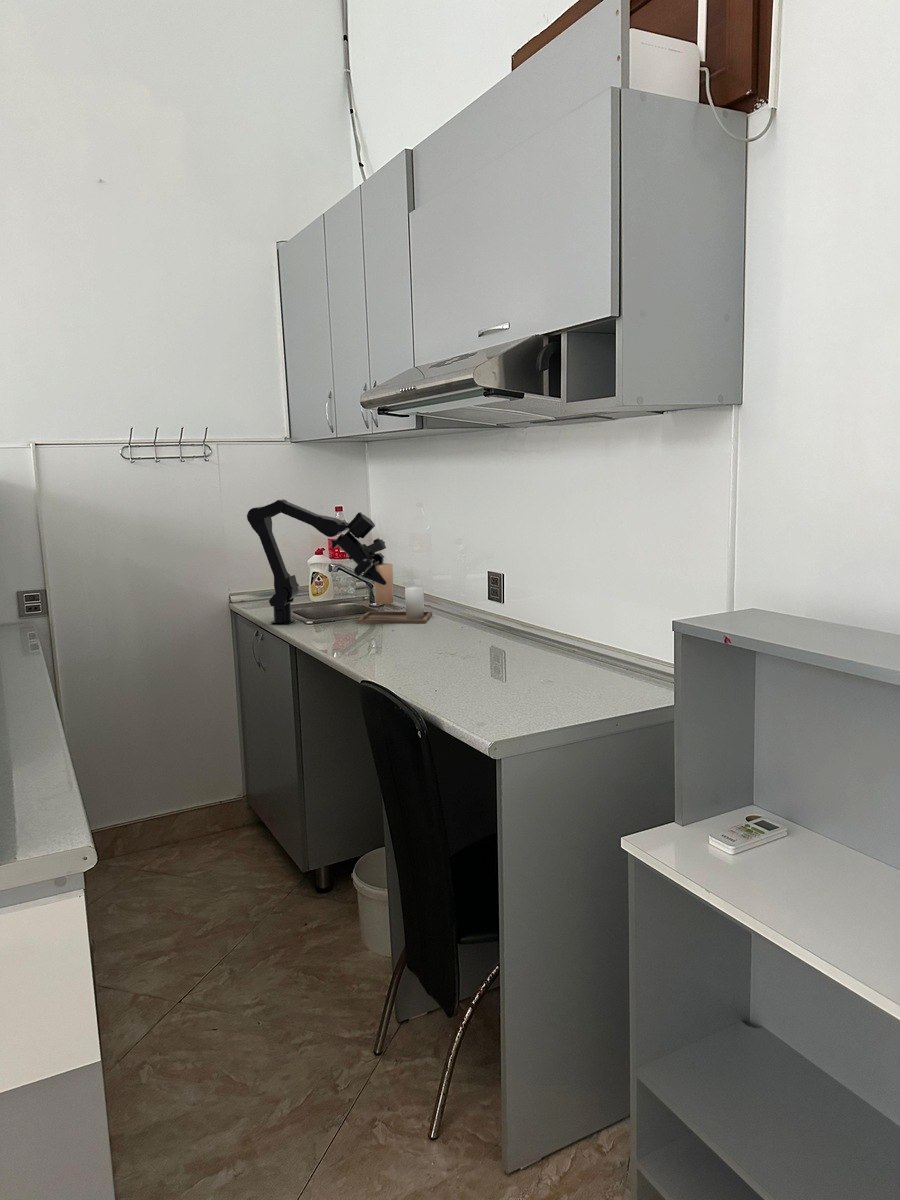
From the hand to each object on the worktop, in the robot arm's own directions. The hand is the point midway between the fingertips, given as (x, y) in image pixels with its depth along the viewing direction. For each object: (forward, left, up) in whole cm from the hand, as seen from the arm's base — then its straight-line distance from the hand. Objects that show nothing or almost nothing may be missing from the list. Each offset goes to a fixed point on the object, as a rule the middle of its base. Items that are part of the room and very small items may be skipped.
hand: (387, 582), depth 282 cm
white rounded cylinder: (-5, +8, -12) cm, 16 cm away
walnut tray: (-2, +2, -13) cm, 14 cm away
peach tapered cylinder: (0, -1, -7) cm, 7 cm away
